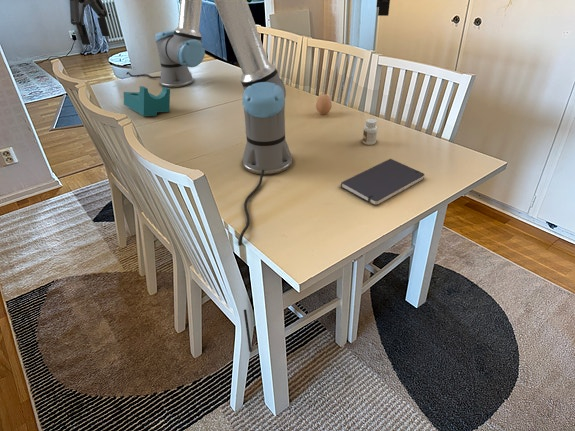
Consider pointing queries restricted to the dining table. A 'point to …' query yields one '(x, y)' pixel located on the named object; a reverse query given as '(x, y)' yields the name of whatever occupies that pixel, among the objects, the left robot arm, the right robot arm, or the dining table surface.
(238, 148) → the dining table surface
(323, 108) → the egg
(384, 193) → the notebook
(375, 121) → the pill bottle
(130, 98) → the teal cradle holder
